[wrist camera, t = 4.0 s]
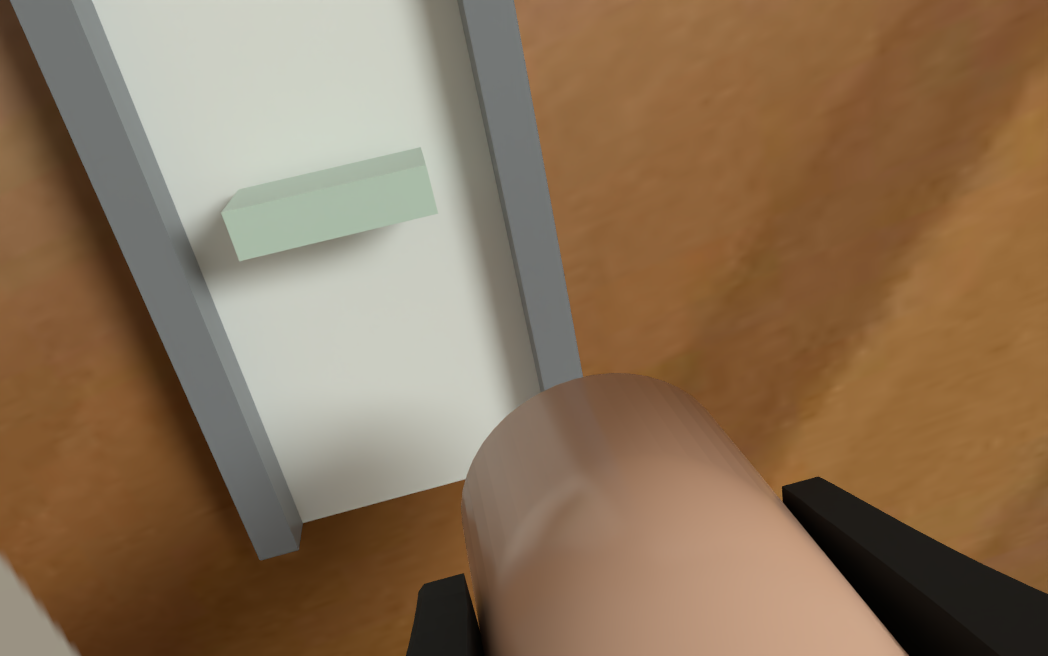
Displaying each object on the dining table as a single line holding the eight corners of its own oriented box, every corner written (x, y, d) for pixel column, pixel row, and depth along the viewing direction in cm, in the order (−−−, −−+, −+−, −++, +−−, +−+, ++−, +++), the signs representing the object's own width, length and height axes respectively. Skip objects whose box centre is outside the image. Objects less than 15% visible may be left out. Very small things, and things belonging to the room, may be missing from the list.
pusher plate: (254, 233, 17) (239, 261, 15) (238, 189, 16) (221, 212, 14) (431, 191, 17) (438, 213, 15) (420, 147, 16) (426, 164, 15)
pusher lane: (267, 523, 20) (244, 635, 17) (-149, -448, 12) (-374, -642, 8) (585, 438, 21) (628, 527, 18) (400, -534, 13) (410, -746, 9)
